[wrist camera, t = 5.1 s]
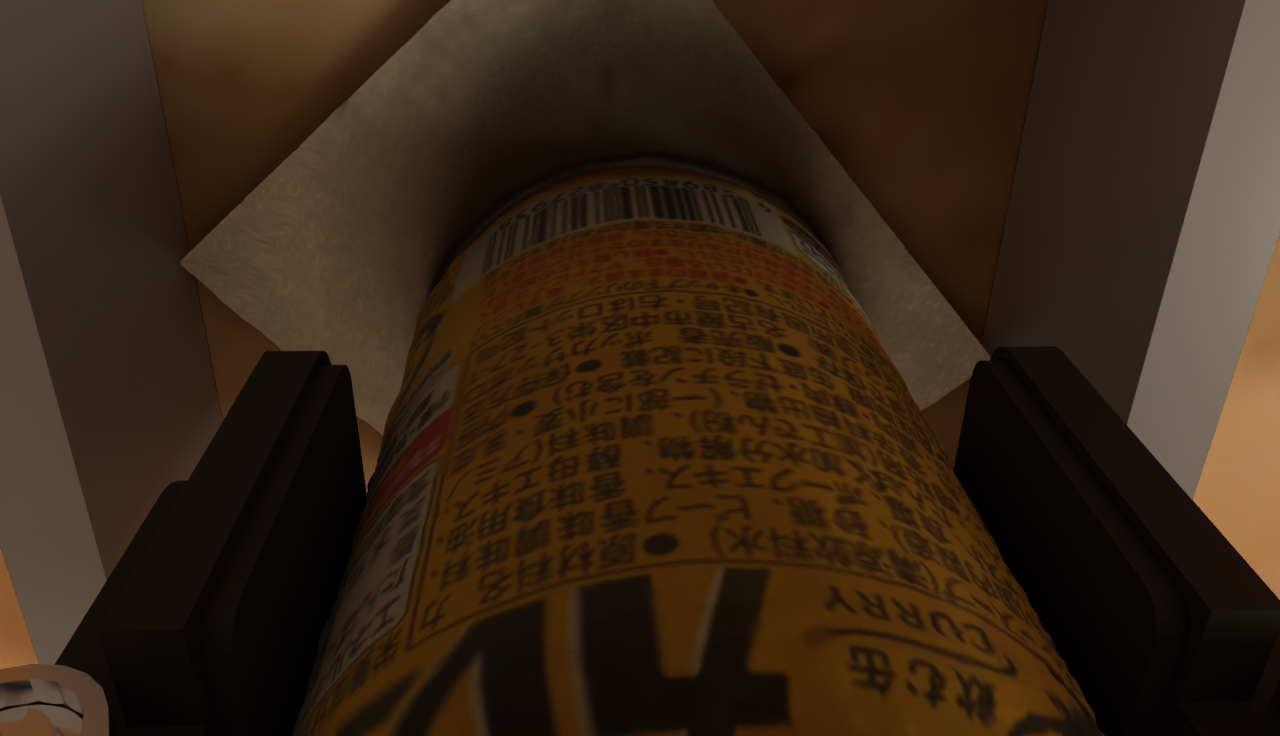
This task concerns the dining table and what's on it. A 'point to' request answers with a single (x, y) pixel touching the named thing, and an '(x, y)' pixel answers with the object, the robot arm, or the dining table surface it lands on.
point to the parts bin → (1017, 317)
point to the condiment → (629, 402)
